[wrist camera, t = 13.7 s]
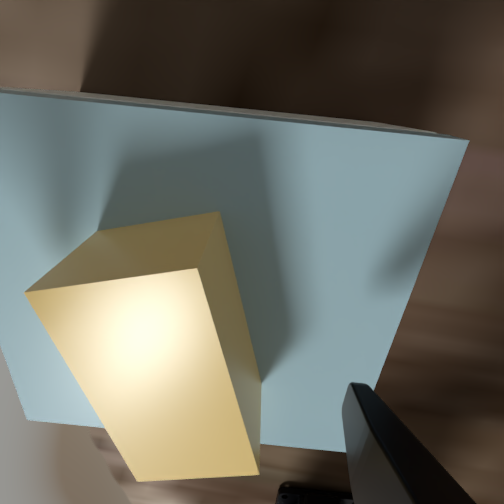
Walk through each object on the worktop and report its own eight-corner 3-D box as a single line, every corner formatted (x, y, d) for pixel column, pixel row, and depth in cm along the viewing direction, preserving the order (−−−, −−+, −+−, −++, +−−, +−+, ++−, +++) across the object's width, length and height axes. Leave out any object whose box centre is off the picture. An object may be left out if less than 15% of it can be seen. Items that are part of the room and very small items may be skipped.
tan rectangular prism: (261, 383, 11) (259, 475, 9) (167, 392, 12) (137, 481, 9) (219, 210, 8) (197, 268, 6) (97, 230, 9) (23, 292, 6)
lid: (344, 429, 14) (349, 452, 13) (42, 398, 14) (26, 419, 13) (447, 134, 8) (469, 140, 7) (-56, 83, 8) (-94, 82, 7)
